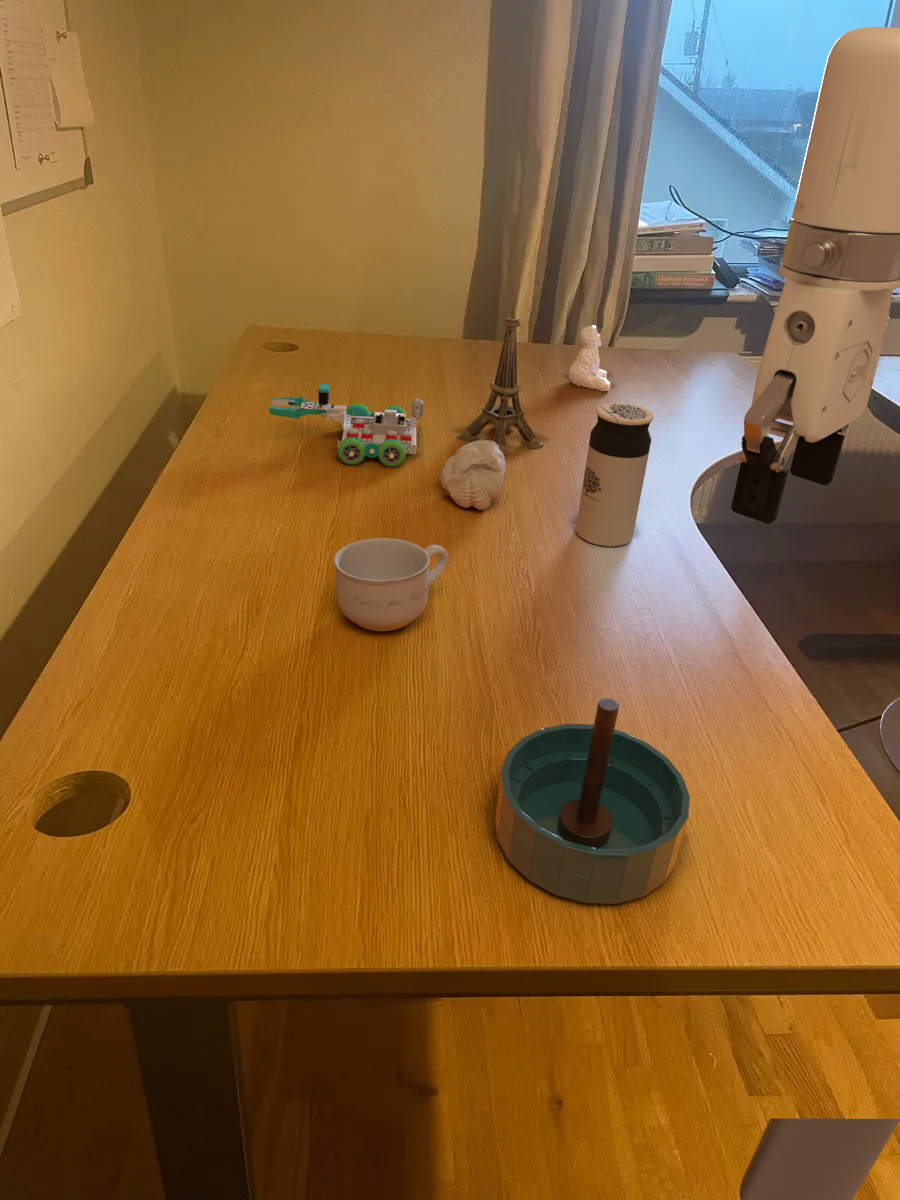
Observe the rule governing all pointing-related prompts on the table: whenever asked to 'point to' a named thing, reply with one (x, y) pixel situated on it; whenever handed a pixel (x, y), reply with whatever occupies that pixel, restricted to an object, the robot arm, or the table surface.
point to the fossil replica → (475, 474)
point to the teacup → (385, 581)
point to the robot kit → (361, 427)
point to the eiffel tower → (504, 398)
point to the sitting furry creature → (589, 362)
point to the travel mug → (614, 474)
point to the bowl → (630, 794)
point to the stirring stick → (592, 786)
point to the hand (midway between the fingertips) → (782, 497)
